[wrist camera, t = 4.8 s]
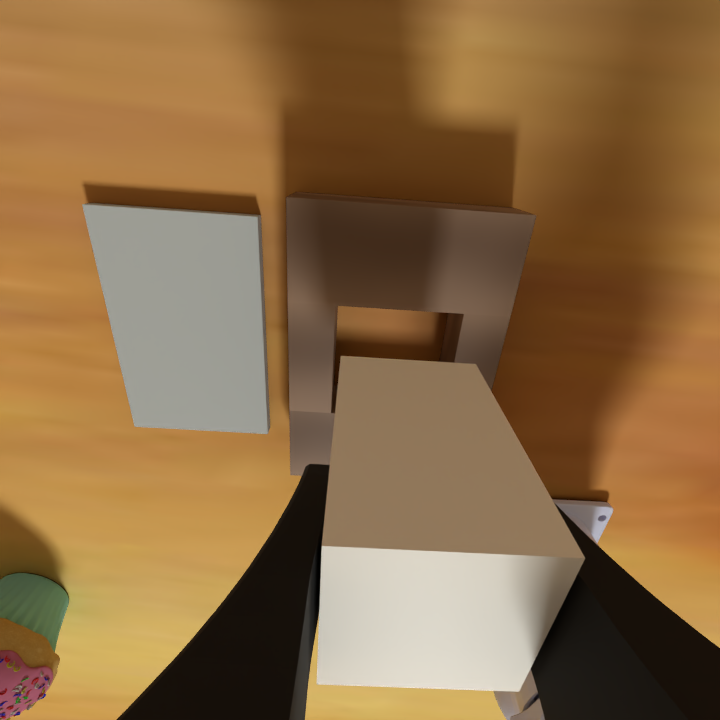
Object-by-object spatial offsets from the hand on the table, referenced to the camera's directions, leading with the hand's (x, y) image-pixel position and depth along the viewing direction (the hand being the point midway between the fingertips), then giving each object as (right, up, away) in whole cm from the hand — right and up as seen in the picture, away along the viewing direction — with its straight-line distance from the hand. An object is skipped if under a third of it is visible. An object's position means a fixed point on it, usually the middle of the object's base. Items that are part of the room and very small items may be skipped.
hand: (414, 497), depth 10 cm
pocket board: (0, +4, +9) cm, 10 cm away
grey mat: (-10, +5, +8) cm, 14 cm away
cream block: (0, +2, +3) cm, 4 cm away
